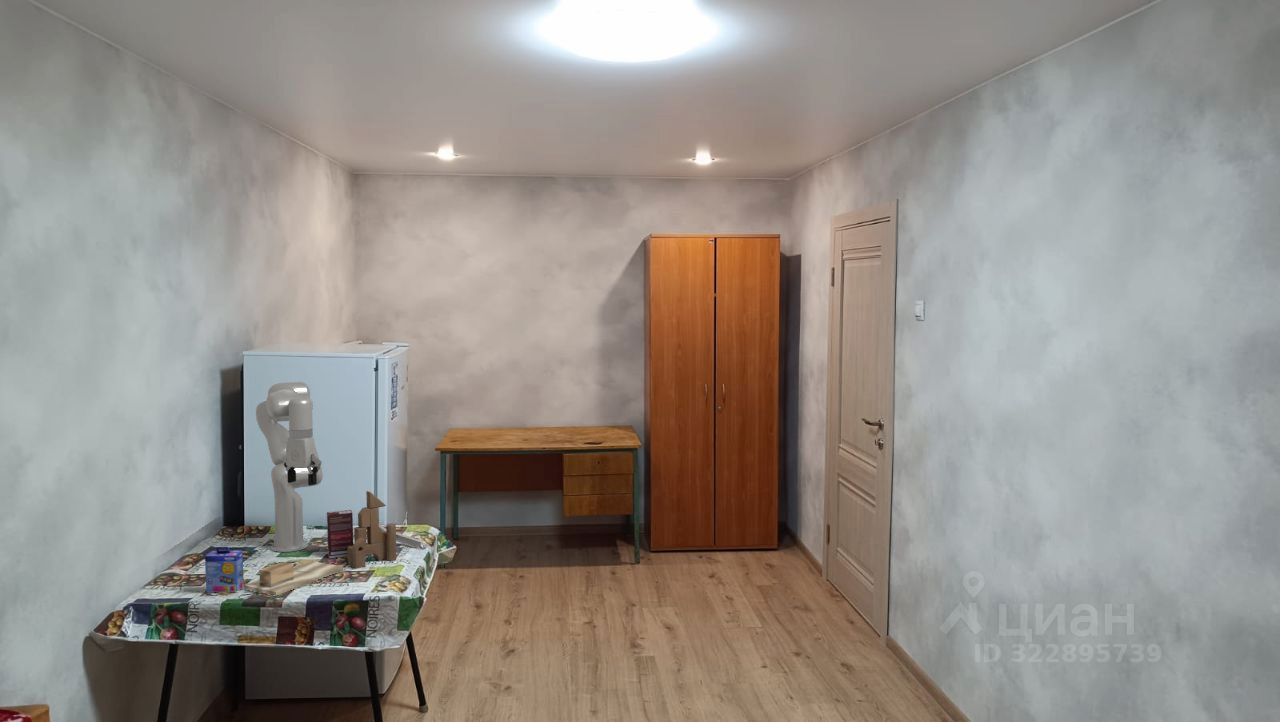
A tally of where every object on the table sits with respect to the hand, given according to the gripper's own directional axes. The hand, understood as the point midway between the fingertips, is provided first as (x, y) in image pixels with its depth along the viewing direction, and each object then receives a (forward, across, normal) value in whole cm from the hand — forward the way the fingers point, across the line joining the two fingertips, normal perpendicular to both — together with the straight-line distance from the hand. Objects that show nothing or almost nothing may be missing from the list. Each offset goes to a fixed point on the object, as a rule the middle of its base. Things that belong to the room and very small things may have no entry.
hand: (302, 483), depth 299 cm
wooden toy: (+29, +20, +12) cm, 37 cm away
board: (+28, +11, -14) cm, 33 cm away
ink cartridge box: (+28, -1, -31) cm, 42 cm away
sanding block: (+27, +11, -21) cm, 36 cm away
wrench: (+29, +11, +33) cm, 45 cm away
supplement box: (+28, +4, +13) cm, 32 cm away
